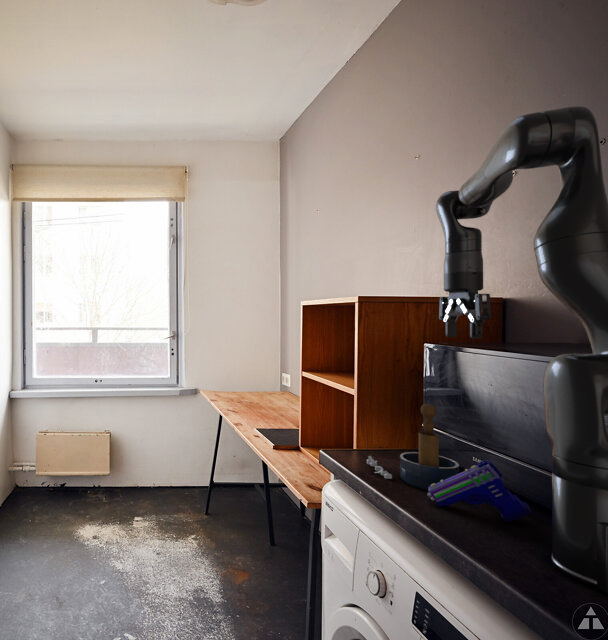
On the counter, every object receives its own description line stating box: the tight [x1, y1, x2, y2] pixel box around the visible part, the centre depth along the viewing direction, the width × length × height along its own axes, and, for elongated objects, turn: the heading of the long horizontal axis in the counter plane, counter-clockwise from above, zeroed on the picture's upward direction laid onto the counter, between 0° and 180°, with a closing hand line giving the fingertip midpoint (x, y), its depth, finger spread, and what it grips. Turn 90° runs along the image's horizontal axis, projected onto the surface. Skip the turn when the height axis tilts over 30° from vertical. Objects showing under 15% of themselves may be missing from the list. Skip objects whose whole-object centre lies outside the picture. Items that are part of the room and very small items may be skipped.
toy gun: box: [427, 459, 532, 523], centre depth 82 cm, size 4×13×10 cm
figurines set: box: [366, 454, 393, 480], centre depth 105 cm, size 12×3×3 cm, turn 170°
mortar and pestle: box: [417, 403, 440, 467], centre depth 97 cm, size 7×6×18 cm
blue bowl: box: [399, 451, 460, 491], centre depth 97 cm, size 11×11×6 cm
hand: (463, 337), depth 101 cm, fingers open, 8 cm apart
